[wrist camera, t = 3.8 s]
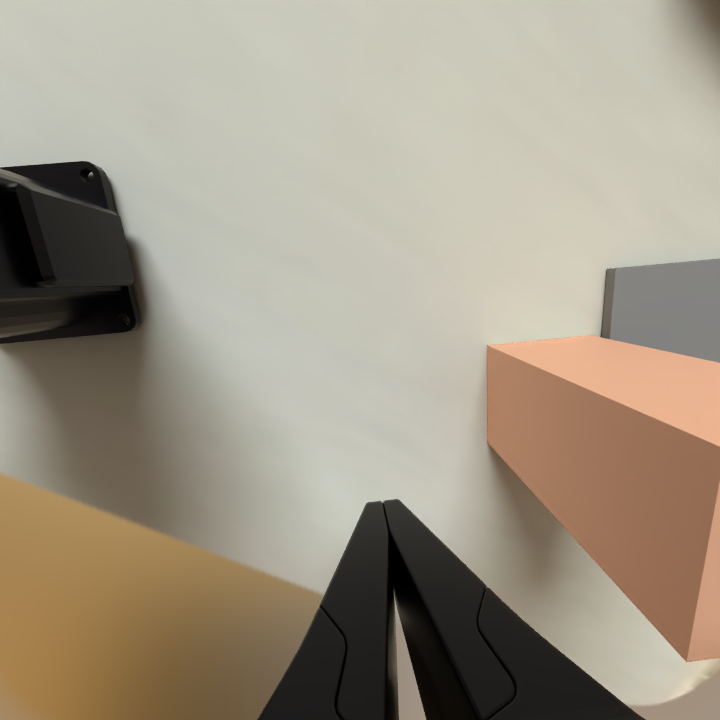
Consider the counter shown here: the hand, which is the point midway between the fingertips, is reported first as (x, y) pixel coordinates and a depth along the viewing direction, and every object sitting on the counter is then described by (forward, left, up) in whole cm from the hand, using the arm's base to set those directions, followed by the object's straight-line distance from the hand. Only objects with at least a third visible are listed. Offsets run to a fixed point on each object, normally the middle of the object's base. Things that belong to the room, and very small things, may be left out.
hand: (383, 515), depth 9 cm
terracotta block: (+9, 0, -8) cm, 11 cm away
